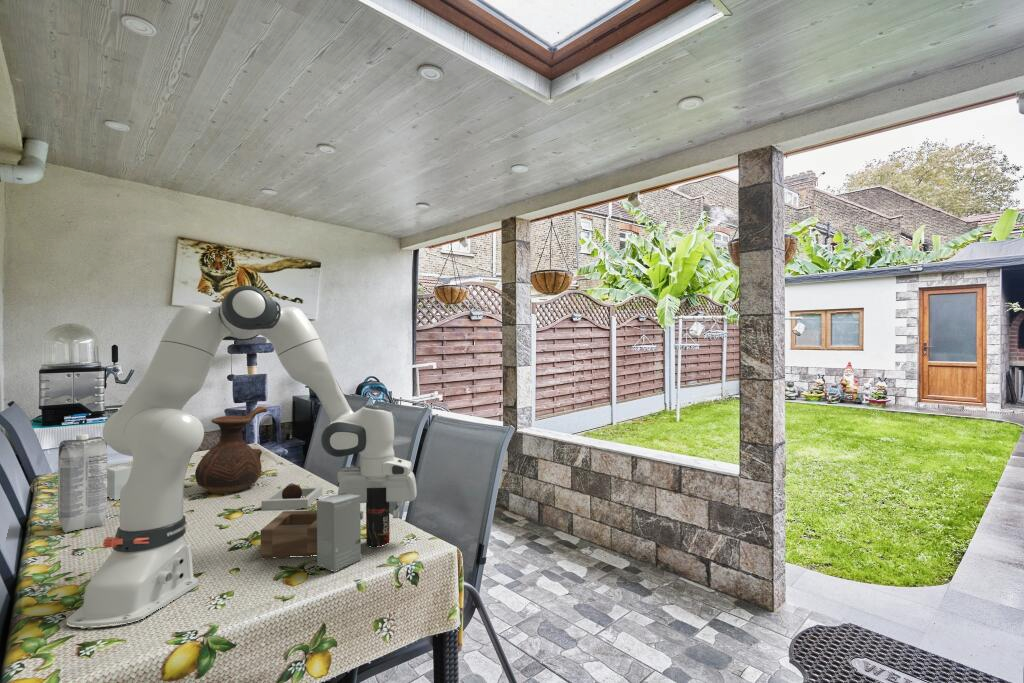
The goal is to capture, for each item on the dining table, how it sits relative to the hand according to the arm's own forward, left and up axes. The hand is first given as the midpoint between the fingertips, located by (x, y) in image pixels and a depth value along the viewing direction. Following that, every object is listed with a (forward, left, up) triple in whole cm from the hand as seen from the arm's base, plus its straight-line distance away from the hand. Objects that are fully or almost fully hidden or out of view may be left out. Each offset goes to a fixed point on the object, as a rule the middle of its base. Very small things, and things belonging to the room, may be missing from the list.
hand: (378, 518), depth 127 cm
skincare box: (-12, +7, -7) cm, 15 cm away
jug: (+57, +66, -7) cm, 87 cm away
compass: (+36, +37, -7) cm, 52 cm away
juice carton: (+21, +90, -7) cm, 93 cm away
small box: (+51, +101, -7) cm, 113 cm away
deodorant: (0, 0, -7) cm, 7 cm away
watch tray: (+38, +36, -6) cm, 53 cm away
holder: (0, +20, -6) cm, 21 cm away
